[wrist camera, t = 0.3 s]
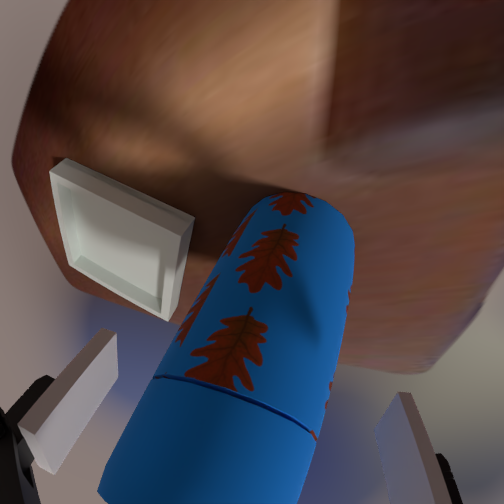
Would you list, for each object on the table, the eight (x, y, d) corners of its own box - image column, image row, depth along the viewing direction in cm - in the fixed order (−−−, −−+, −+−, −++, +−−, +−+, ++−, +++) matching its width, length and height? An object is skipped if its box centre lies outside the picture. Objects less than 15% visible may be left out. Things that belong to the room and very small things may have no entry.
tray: (66, 157, 32) (49, 170, 30) (195, 217, 32) (181, 236, 30) (80, 251, 45) (69, 264, 43) (177, 305, 45) (168, 321, 43)
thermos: (341, 292, 32) (267, 545, 15) (243, 266, 34) (131, 493, 17) (369, 206, 24) (284, 575, 7) (243, 178, 27) (59, 476, 10)
